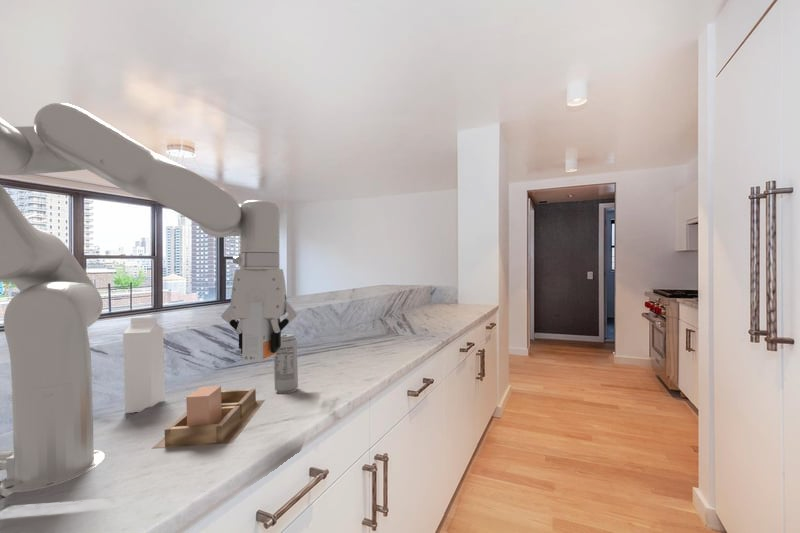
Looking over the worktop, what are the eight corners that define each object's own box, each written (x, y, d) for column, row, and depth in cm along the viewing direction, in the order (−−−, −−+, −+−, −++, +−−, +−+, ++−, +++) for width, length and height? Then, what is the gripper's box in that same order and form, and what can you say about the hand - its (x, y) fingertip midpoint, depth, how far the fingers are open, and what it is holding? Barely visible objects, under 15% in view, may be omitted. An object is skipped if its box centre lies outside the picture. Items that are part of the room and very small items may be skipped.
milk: (151, 412, 87) (149, 318, 87) (124, 413, 87) (122, 319, 87) (165, 402, 93) (163, 315, 93) (140, 404, 93) (137, 316, 93)
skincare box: (262, 363, 71) (261, 301, 72) (241, 362, 72) (241, 301, 72) (277, 355, 77) (276, 298, 78) (258, 355, 78) (257, 298, 78)
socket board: (151, 454, 66) (151, 431, 66) (204, 408, 88) (204, 391, 88) (232, 449, 68) (232, 426, 68) (265, 404, 90) (264, 387, 90)
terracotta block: (187, 439, 69) (186, 397, 69) (201, 426, 75) (200, 387, 75) (209, 438, 70) (208, 395, 70) (221, 424, 76) (220, 385, 76)
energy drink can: (301, 387, 103) (299, 333, 103) (292, 394, 97) (291, 337, 97) (280, 387, 103) (279, 333, 103) (270, 394, 97) (269, 337, 97)
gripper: (208, 262, 71) (208, 357, 70) (299, 261, 72) (299, 355, 72) (223, 263, 78) (223, 349, 78) (305, 262, 80) (306, 347, 79)
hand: (260, 351), depth 75 cm, fingers closed on skincare box, 5 cm apart
